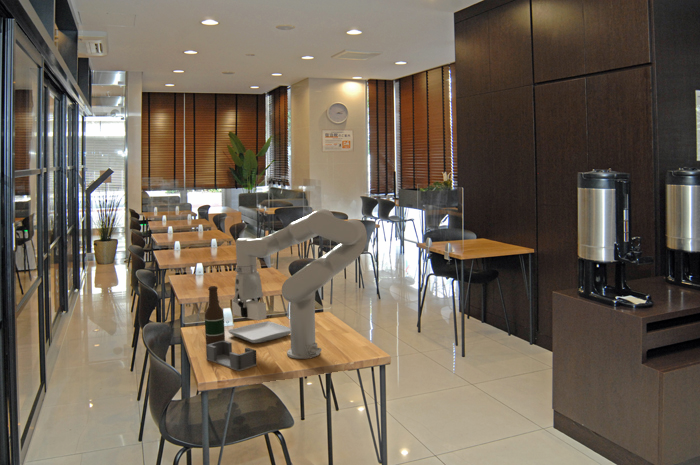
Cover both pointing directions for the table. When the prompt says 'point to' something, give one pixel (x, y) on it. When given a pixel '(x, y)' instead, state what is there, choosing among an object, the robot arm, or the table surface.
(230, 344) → the endcap jig
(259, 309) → the beige rectangular block
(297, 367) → the table surface
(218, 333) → the beer bottle
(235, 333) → the salad plate
